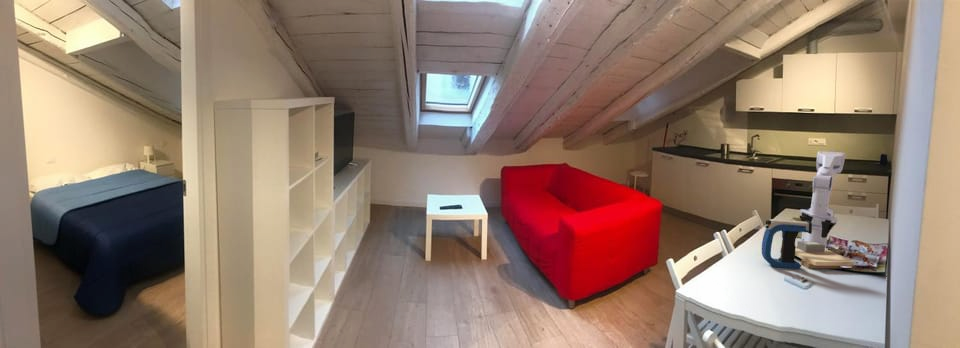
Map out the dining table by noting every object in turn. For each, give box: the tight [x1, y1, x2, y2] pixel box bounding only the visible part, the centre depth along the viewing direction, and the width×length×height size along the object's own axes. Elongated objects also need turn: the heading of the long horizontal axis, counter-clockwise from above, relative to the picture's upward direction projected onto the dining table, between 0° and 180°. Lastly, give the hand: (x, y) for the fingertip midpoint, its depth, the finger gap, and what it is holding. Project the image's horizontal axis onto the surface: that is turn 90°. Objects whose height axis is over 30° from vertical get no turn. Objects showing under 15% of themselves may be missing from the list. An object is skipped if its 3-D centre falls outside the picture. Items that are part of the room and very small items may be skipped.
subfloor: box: [779, 244, 856, 269], centre depth 189 cm, size 20×18×4 cm
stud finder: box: [796, 240, 825, 252], centre depth 192 cm, size 5×8×3 cm, turn 91°
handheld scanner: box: [761, 218, 812, 270], centre depth 181 cm, size 4×16×19 cm, turn 78°
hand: (815, 234), depth 193 cm, fingers open, 7 cm apart
